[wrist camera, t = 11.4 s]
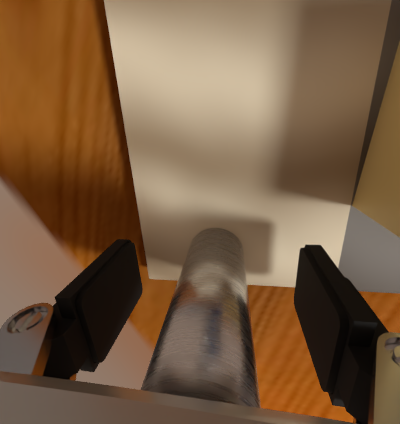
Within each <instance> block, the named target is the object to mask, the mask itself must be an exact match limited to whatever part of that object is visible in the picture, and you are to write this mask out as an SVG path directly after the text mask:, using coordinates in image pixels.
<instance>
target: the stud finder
mask: <svg viewBox="0 0 400 424" xmlns="http://www.w3.org/2000/svg"><path fill="white" fill-rule="evenodd" d="M352 206H353V207H355V208H356V209H358V210H359V211H361V212H362V213H364V214H365V215H367V216H368V217H370V218H371V219H373V220H374V221H376V222H377V223H379V224H380V225H382V226H383V227H385V228H386V229H388V230H389V231H390V232H392V233H393V234H395V235H396V236H398V237H399V238H400V41H399V45H398V48H397V52H396V55H395V59H394V62H393V66H392V69H391V73H390V76H389V80H388V83H387V86H386V90H385V93H384V97H383V100H382V104H381V107H380V111H379V114H378V118H377V121H376V125H375V128H374V132H373V135H372V138H371V142H370V145H369V149H368V152H367V156H366V159H365V163H364V166H363V170H362V173H361V177H360V180H359V184H358V187H357V190H356V194H355V197H354V201H353V204H352Z"/></svg>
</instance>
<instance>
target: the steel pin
mask: <svg viewBox="0 0 400 424" xmlns="http://www.w3.org/2000/svg"><path fill="white" fill-rule="evenodd" d="M141 390H143V391H150V392H157V393H163V394H170V395H177V396H184V397H190V398H197V399H204V400H210V401H217V402H224V403H230V404H237V405H243V406H250V407H256V408H260V399H259V390H258V381H257V372H256V362H255V353H254V344H253V335H252V326H251V317H250V308H249V299H248V290H247V280H246V271H245V262H244V253H243V247H242V244H241V242H240V240H239V239H238V237H237V236H236V235H235V234H233V233H232V232H230V231H228V230H226V229H222V228H208V229H205V230H203V231H201V232H199V233H198V234H197V235H196V236H195V237H194V238H193V240H192V242H191V245H190V248H189V250H188V253H187V256H186V259H185V262H184V265H183V268H182V271H181V274H180V277H179V280H178V282H177V285H176V288H175V291H174V294H173V297H172V300H171V303H170V306H169V309H168V312H167V314H166V317H165V320H164V323H163V326H162V329H161V332H160V335H159V338H158V341H157V344H156V347H155V349H154V352H153V355H152V358H151V361H150V364H149V367H148V370H147V373H146V376H145V379H144V381H143V385H142V387H141Z"/></svg>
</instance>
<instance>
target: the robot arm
mask: <svg viewBox="0 0 400 424" xmlns="http://www.w3.org/2000/svg"><path fill="white" fill-rule="evenodd" d="M141 295H142V283H141V277H140V272H139V266H138V261H137V255H136V249H135V245H134V243H132V242H131V241H130V240H124V239H118V240H116V241H115V242H114V243H113V244H112V245H111V246H110V247H108V248H107V249H106V250H105V251H104V252H103V253H102V254H101V255H100V256H99V257H98V258H97V259H96V260H94V261H93V262H92V263H91V264H90V265H89V266H88V267H87V268H86V269H85V270H84V271H83V272H82V273H80V274H79V275H78V276H77V277H76V278H75V279H74V280H73V281H72V282H71V283H70V284H69V285H67V286H66V287H65V288H64V289H63V290H62V291H61V292H60V293H59V294H58V295H57V296H56V297H55V299H56V302H57V303H56V304H54V305H53V306H52V305H50V304H48V303H39V304H34V305H31V306H28V307H26V308H24V309H22V310H20V311H18V312H17V313H15V314H14V315H12V316H11V317H10V318H9V319H7V321H6V322H5V323H4V324H3V325H2V327H1V329H0V424H400V333H393V332H390V333H389V332H388V331H387V329H386V328H385V327H384V325H383V324H382V322H381V321H380V320H379V318H378V317H377V316H376V314H375V313H374V312H373V310H372V309H371V308H370V306H369V305H368V304H367V302H366V301H365V300H364V298H363V297H362V296H361V294H360V293H359V292H358V290H357V289H356V288H355V286H354V285H353V284H352V282H351V281H350V280H349V279H348V278H346V277H344V276H343V274H342V273H341V272H340V270H339V269H338V268H337V266H336V265H335V263H334V262H333V261H332V259H331V258H330V257H329V255H328V254H327V252H326V251H325V250H324V248H323V247H322V246H321V245H305V247H304V248H300V252H299V260H298V269H297V277H296V285H295V293H294V305H295V309H296V312H297V315H298V318H299V321H300V324H301V327H302V330H303V333H304V337H305V340H306V343H307V346H308V349H309V352H310V355H311V358H312V361H313V364H314V367H315V370H316V373H317V376H318V379H319V382H320V385H321V388H322V390H323V391H324V392H328V393H329V396H330V399H331V402H332V405H335V406H342V407H345V408H346V411H347V412H348V413H349V414H351V415H352V416H353V417H354V419H353V423H350V422H344V421H338V420H332V419H326V418H321V417H314V416H308V415H301V414H295V413H289V412H282V411H276V410H269V409H263V408H256V407H250V406H243V405H237V404H230V403H224V402H217V401H210V400H204V399H197V398H190V397H184V396H177V395H170V394H163V393H157V392H150V391H143V390H136V389H129V388H122V387H116V386H109V385H102V384H95V383H87V382H80V381H75V380H76V373H78V371H79V369H81V370H83V371H89V372H94V371H95V369H96V368H97V366H98V364H99V363H100V362H103V361H104V359H105V358H106V356H107V354H108V353H109V351H110V349H111V347H112V346H113V344H114V342H115V340H116V339H117V337H118V335H119V333H120V332H121V330H122V328H123V326H124V325H125V323H126V321H127V319H128V318H129V316H130V314H131V312H132V311H133V309H134V307H135V305H136V304H137V302H138V300H139V298H140V297H141Z"/></svg>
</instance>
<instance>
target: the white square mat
mask: <svg viewBox="0 0 400 424" xmlns="http://www.w3.org/2000/svg"><path fill="white" fill-rule="evenodd" d="M104 4H105V10H106V16H107V23H108V29H109V35H110V41H111V47H112V53H113V59H114V65H115V72H116V78H117V84H118V90H119V96H120V102H121V108H122V114H123V120H124V127H125V133H126V139H127V145H128V151H129V157H130V163H131V169H132V176H133V182H134V188H135V194H136V200H137V206H138V212H139V218H140V225H141V231H142V237H143V243H144V249H145V255H146V261H147V267H148V273H149V279H162V280H179V277H180V274H181V271H182V268H183V265H184V262H185V259H186V256H187V253H188V250H189V248H190V245H191V242H192V240H193V238H194V237H195V236H196V235H197V234H198V233H199V232H201V231H203V230H205V229H208V228H222V229H226V230H228V231H230V232H232V233H233V234H235V235H236V236H237V237H238V239H239V240H240V242H241V244H242V247H243V253H244V262H245V271H246V280H247V284H248V285H265V286H282V287H295V285H296V277H297V269H298V260H299V252H300V248H304V247H305V245H321V246H322V247H323V248H324V250H325V251H326V252H327V254H328V255H329V257H330V258H331V259H332V261H333V262H334V263H335V265H336V266H337V268H338V269H339V270H340V272H341V273H342V274H343V276H344V277H346V278H348V279H349V280H350V281H351V282H352V284H353V285H354V286H355V288H356V289H357V290H358V291H368V292H385V293H400V238H399V237H398V236H396V235H395V234H393V233H392V232H390V231H389V230H388V229H386V228H385V227H383V226H382V225H380V224H379V223H377V222H376V221H374V220H373V219H371V218H370V217H368V216H367V215H365V214H364V213H362V212H361V211H359V210H358V209H356V208H355V207H353V206H352V204H353V201H354V197H355V194H356V190H357V187H358V184H359V180H360V177H361V173H362V170H363V166H364V163H365V159H366V156H367V152H368V149H369V145H370V142H371V138H372V135H373V132H374V128H375V125H376V121H377V118H378V114H379V111H380V107H381V104H382V100H383V97H384V93H385V90H386V86H387V83H388V80H389V76H390V73H391V69H392V66H393V62H394V59H395V55H396V52H397V48H398V45H399V41H400V0H104Z"/></svg>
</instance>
